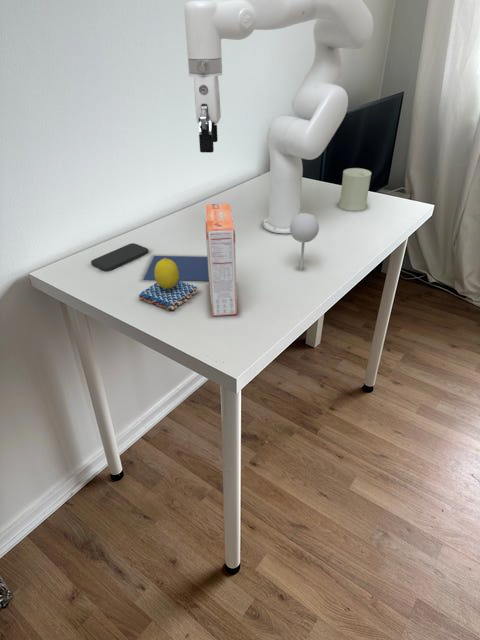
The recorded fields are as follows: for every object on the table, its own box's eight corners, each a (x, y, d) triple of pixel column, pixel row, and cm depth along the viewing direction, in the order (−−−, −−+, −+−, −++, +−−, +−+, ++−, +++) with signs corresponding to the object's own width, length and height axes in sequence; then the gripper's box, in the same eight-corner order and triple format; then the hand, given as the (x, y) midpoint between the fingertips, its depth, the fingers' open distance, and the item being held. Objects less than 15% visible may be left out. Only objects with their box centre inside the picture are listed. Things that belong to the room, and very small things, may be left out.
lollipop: (317, 264, 120) (322, 210, 111) (311, 277, 114) (317, 221, 105) (291, 261, 121) (294, 207, 113) (284, 273, 116) (287, 217, 107)
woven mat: (200, 292, 108) (199, 285, 107) (172, 313, 101) (171, 305, 100) (166, 281, 113) (165, 274, 112) (137, 300, 106) (136, 293, 105)
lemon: (182, 283, 108) (179, 253, 103) (177, 295, 103) (174, 264, 99) (159, 282, 108) (155, 252, 104) (153, 294, 104) (149, 263, 99)
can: (351, 213, 149) (356, 176, 142) (333, 204, 156) (337, 169, 149) (372, 207, 153) (378, 172, 146) (353, 199, 160) (358, 165, 153)
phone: (150, 249, 126) (106, 269, 116) (150, 252, 126) (107, 272, 117) (132, 242, 130) (88, 261, 120) (132, 245, 130) (89, 264, 120)
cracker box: (208, 285, 111) (204, 203, 99) (233, 284, 112) (231, 202, 100) (210, 317, 100) (205, 229, 88) (237, 315, 100) (236, 227, 88)
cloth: (219, 257, 123) (219, 257, 123) (214, 281, 113) (214, 280, 113) (154, 256, 124) (154, 255, 124) (143, 279, 114) (143, 279, 114)
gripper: (218, 72, 94) (221, 156, 104) (224, 63, 108) (227, 138, 118) (182, 72, 94) (188, 156, 104) (193, 63, 108) (198, 138, 118)
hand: (209, 146), depth 111 cm, fingers open, 9 cm apart
